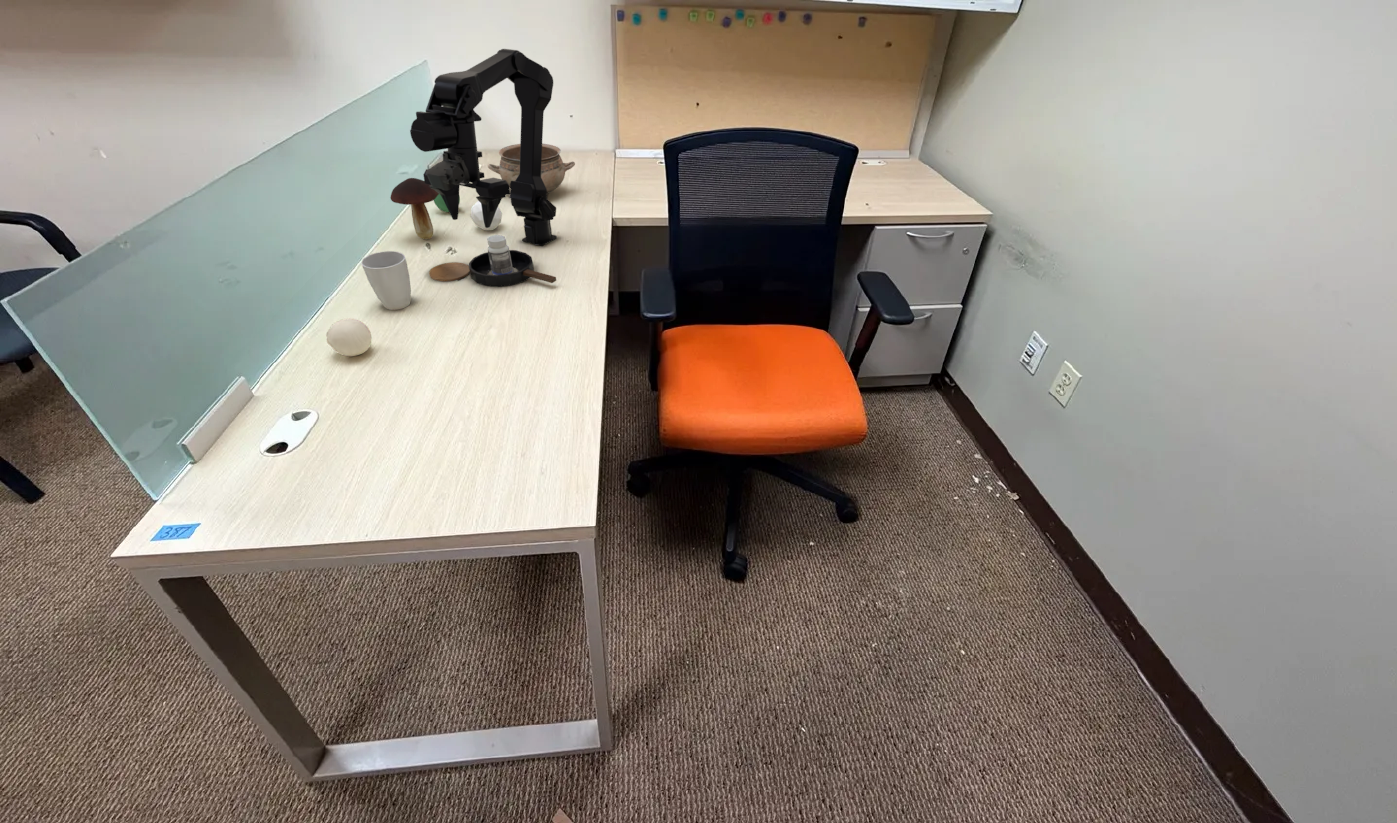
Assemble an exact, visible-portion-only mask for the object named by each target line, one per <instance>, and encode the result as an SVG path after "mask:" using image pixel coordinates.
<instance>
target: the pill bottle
mask: <svg viewBox="0 0 1397 823" xmlns="http://www.w3.org/2000/svg"><path fill="white" fill-rule="evenodd" d="M487 246H488V247H487V252H488V255H489V259H490V265H491V269H492V270H491V273H492V274H491V275H505V274H511V273H514V268H513V267H512V261H511V256H510V250H511V249H510V246H509V245H508V244H507V238H506V236H504V235H503V234H493V235H490V236H488V237H487Z"/></svg>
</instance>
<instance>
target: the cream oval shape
mask: <svg viewBox="0 0 1397 823" xmlns="http://www.w3.org/2000/svg"><path fill="white" fill-rule="evenodd" d="M325 335H326V342H327V344H328V345H329V346H330V347H331V348H332V349H333V350H334V351H335V352H336V353H338V354H339V355H342V356H345V357H356V356H361V354H364V353H365V352H367V351H368V350H369V349H370V346H371V344H372V341H373V340H372V333H371V330H370V327H368V325H367V324H366V323H364V322H363V321H362V320H359V319H357V318H351V317H350V318H348V317H347V318H342V319H339V320H336V321H335V322H333V323H332V324H331V325H330V327H329V329H327V331H326V334H325Z"/></svg>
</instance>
